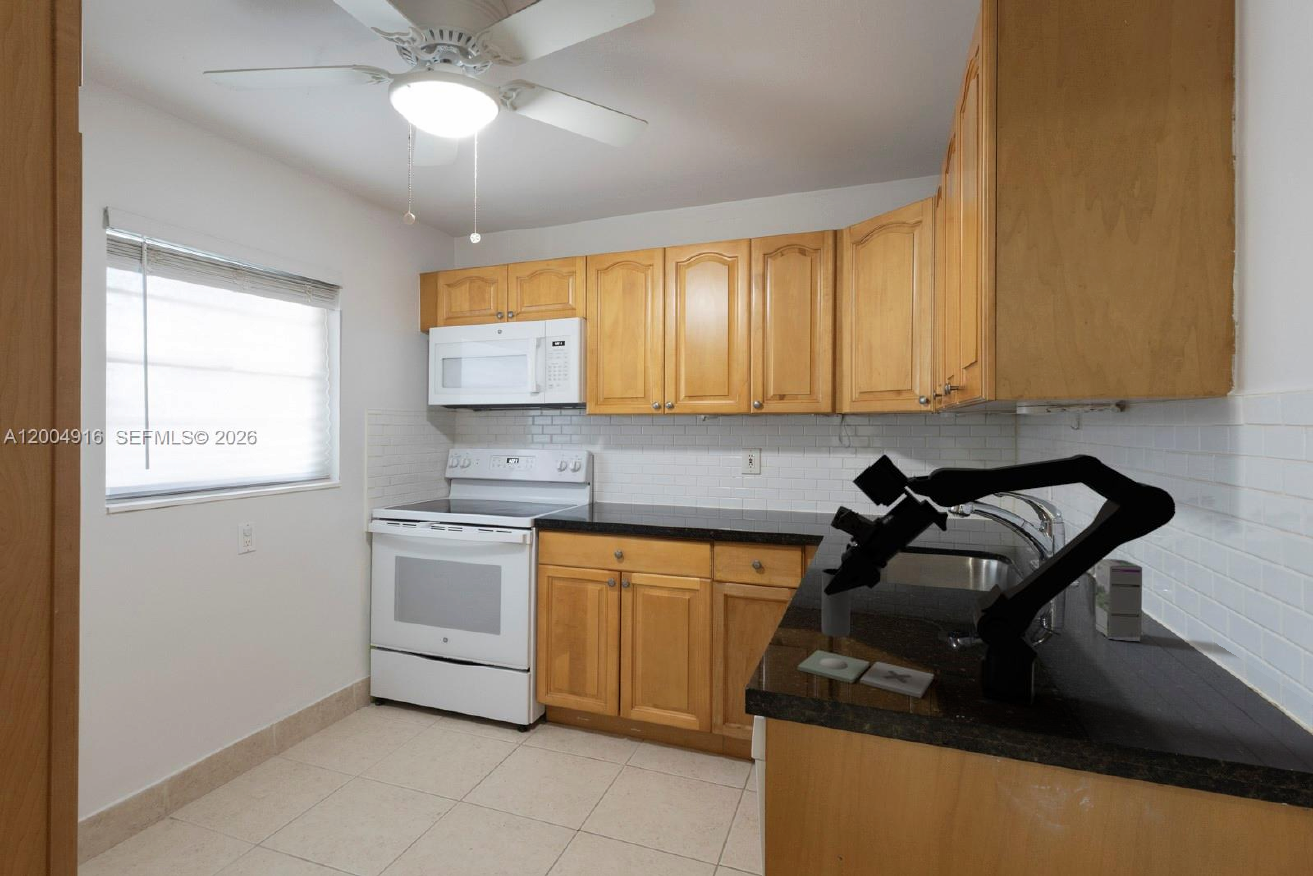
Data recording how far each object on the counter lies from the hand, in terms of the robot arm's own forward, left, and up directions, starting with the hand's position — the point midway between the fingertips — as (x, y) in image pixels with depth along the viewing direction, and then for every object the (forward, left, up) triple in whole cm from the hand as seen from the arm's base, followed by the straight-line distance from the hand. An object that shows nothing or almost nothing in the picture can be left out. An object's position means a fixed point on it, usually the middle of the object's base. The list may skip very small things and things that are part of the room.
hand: (827, 589), depth 105 cm
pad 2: (-11, -1, -13) cm, 17 cm away
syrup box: (-40, -48, -13) cm, 64 cm away
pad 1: (-1, 0, -13) cm, 13 cm away
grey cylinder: (-1, 0, -7) cm, 8 cm away
